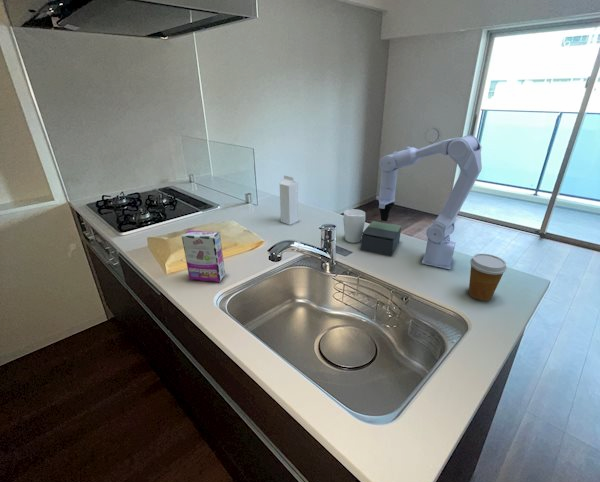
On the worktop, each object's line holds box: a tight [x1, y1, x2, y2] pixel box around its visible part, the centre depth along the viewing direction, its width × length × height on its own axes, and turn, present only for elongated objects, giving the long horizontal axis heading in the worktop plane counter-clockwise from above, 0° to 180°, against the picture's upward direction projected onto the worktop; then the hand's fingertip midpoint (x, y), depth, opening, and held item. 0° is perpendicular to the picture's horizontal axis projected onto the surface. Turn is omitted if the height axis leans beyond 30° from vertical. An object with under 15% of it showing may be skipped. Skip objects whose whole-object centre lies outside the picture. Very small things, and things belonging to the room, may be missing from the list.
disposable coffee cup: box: [468, 253, 508, 302], centre depth 96 cm, size 10×10×12 cm
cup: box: [342, 208, 367, 244], centre depth 133 cm, size 9×9×12 cm
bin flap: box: [367, 220, 402, 233], centre depth 129 cm, size 7×12×1 cm, turn 63°
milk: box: [279, 175, 299, 226], centre depth 150 cm, size 6×6×22 cm
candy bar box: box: [181, 229, 226, 283], centre depth 106 cm, size 11×5×16 cm, turn 80°
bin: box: [360, 226, 402, 257], centre depth 128 cm, size 14×12×7 cm
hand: (384, 220), depth 127 cm, fingers closed
